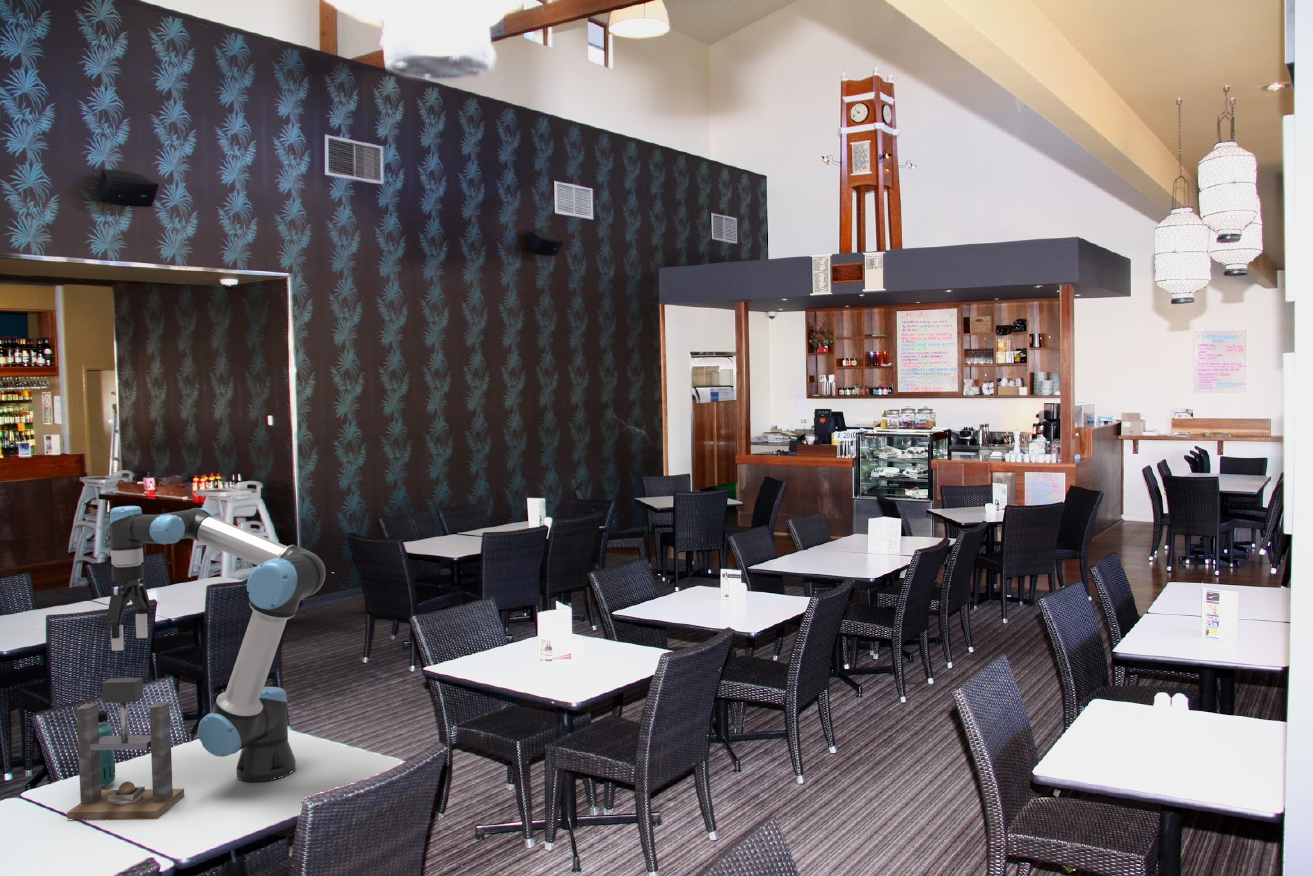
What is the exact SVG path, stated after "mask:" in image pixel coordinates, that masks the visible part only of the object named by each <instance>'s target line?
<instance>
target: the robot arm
mask: <svg viewBox="0 0 1313 876" xmlns="http://www.w3.org/2000/svg"><path fill="white" fill-rule="evenodd" d="M108 525H109V532H110V536H109V537H110V553H109V555H110V557H111V558H110V559H111V565H112V567H111V580H112V581H114V582H116V583H117V586H112V587H110V598H109V604H108V609H107V614H106V619H105V625H106V626H107V627H110V638H111V639H110V640H111V641H110V642H111V651H115V652H116V651H124V649H125V647H124V645H125V642H124V641H125V640H124V625H123V624H122V621H123V619H124V616H125V613H126V610H127V606H128V604H129V603H130V602H131V603H132V605H133V607H134V609H135V611H136V614H135V636H136V637H135V638H136V639H147V638H149V637H148V636H149V635H148V614H151V612H152V609H151V608H152V605H151V601H150V598H149V594H148V591H147V588H146V582H145V578H144V574H145V573H144V571H145V570H144V564H142V563H143V562H144V549H143V547H144V546H143V544H161V545H169V544H176V543H178V542H180V540H182V539H183V540H184V539H192V540H195V541H197V542H199V543H202V544H204V545H207V546H210V547H212V548H215V549H216V550H220V551H221V552H224V553H227V554H229V555H232V556H234V557H236V558H239V559H242V560H243V561H247V562H249V563H251V564H254V565H256V567H254V568H253V570H252V571H251V572H250V574H249V576H248V579H247V583H246V591H247V592H248V598H249V602H248V605H249V607H250V608H251V610H252V613H251V617H250V618H249V622H248V624H247V628H246V631H245V633H244V637H243V639H242V643H241V646H240V648H239V651H238V653H237V654H238V655H237V657H236V661H235V663H234V666H233V669H232V672H231V675H230V677H229V681H228V684H227V686H226V689H225V691H223V692H221V693H220V694H218V696H217V697H216V700H215V703H214V705H213V709H212V710H211V712H210V713H208V714H206V715H205V716H204V717H202V719H200V721H199V723H198V727H197V735H198V739H199V741H200V742H201V746H202V747H203V749H205V750H206V751H207V752H208V754H211V755H212V756H215V757H222V758H223V757H227V756H231V755H233V754H236V753H238V752H239V751H240V753H239V758H238V761H237V764H236V769H235V772H236V773H235V774H236V775H237V776H236V778H237V779H238V778H239V779H238V780H240V779H241V780H240V781H242V780H243V781H244V782H247V783H248V782H249V783H257V782H258V783H259V782H260V783H261V781H262V782H269V781H272V780H271V779H274V778H278V779H280V778H279V777H281V776H284V775H286V774H289V773H290V772H291V771H293V770H294V769H295V767H296V766H297V765H296V763H297V762H296V757H295V755H294V753H293V750H292V748H291V745H290V742H289V735H288V733H289V731H288V729H289V728H288V727H289V726H288V702H289V701H288V699H287V698H288V697H287V692H286V690H285V689H284V688H282V687H276V686H265V684H266V681H267V679H268V676H269V673H270V670H271V667H272V664H273V661H274V659H275V656H276V653H277V649H278V646H279V644H280V642H281V638H282V636H283V632H284V630H285V627H286V624H287V620H289V619H291V618H293V617H295V615H297V614H296V613H297V611H298V609H299V605H300V604H301V600H302V599H305V598H308V597H309V596H312V595H314V594H315V593H317V592H318V591H319V590H320V589H321V588H322V586H323V585H324V582H325V580H326V574H327V573H326V566H325V564H324V562H323V560H322V559H321V558H320V557H319V556H318V555H317V554H315V553H313V552H311V551H310V550H307V549H306V548H303V547H301V546H298V545H295V544H290V545H288V546H287V545H284V544H282V543H280V542H277V541H275V540H273V539H269V538H267V537H265V536H262V535H261V534H260V535H259V534H257V533H254V532H252V531H249V530H247V529H245V528H242V527H240V526H237V525H234V524H232V523H230V522H227V521H224V520H222V519H219V518H217V517H216V516H215V515H214V514H213V512H212V511H211V510H210V509H208V508H204V507H203V508H202V507H200V508H199V507H193V508H190V509H185V510H179V511H174V512H173V511H172V512H167V513H159V514H143V511H142V507H140V506H138V505H137V506H136V505H125V506H117V507H113V508H111V509H110V512H109V524H108ZM296 768H297V767H296ZM295 770H296V769H295ZM295 770H294V771H295ZM294 771H293V772H294ZM289 775H290V774H289ZM284 777H285V776H284ZM281 778H282V777H281ZM268 780H269V781H268ZM274 780H275V779H274ZM243 781H242V782H243Z"/></svg>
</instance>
